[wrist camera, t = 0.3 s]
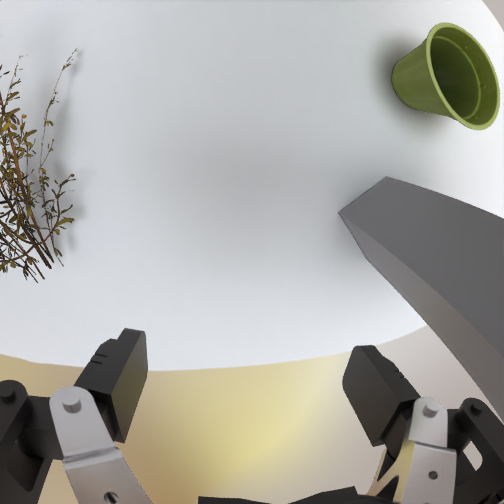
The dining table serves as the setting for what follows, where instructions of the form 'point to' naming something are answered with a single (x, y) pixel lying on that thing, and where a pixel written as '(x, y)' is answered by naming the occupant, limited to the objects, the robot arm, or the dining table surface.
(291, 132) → the dining table surface
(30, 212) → the dried plant
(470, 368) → the plinth
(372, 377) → the robot arm
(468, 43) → the plant pot
